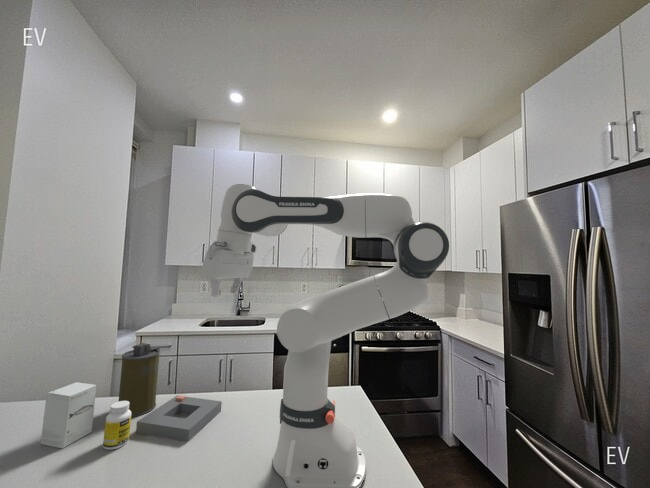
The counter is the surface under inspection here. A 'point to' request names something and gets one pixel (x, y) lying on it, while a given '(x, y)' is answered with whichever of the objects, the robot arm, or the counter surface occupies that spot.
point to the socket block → (179, 428)
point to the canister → (139, 378)
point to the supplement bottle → (117, 426)
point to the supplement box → (68, 414)
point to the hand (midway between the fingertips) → (225, 294)
